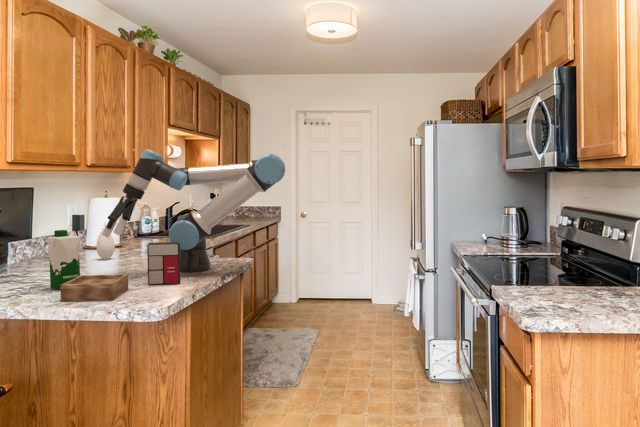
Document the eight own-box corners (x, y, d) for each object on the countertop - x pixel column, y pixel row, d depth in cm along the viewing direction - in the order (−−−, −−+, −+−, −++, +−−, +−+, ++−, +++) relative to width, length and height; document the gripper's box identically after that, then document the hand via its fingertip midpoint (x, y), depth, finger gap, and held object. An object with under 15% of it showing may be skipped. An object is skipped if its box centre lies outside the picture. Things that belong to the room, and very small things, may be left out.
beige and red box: (147, 285, 166) (146, 244, 165) (149, 283, 170) (148, 242, 169) (179, 284, 168) (178, 243, 167) (180, 282, 172) (180, 241, 172)
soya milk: (71, 283, 169) (69, 229, 168) (85, 286, 164) (83, 230, 163) (46, 288, 162) (44, 231, 161) (59, 291, 157) (57, 232, 156)
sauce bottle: (93, 260, 223) (92, 222, 222) (107, 257, 230) (106, 221, 229) (104, 261, 219) (103, 223, 218) (118, 259, 226) (117, 222, 225)
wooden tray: (128, 289, 160) (128, 274, 160) (113, 300, 145) (112, 283, 144) (81, 290, 158) (80, 275, 158) (60, 301, 143) (60, 284, 143)
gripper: (135, 183, 194) (112, 228, 193) (117, 180, 169) (90, 232, 168) (152, 191, 195) (129, 237, 194) (136, 190, 170) (109, 241, 169)
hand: (110, 235), depth 181 cm, fingers open, 13 cm apart
